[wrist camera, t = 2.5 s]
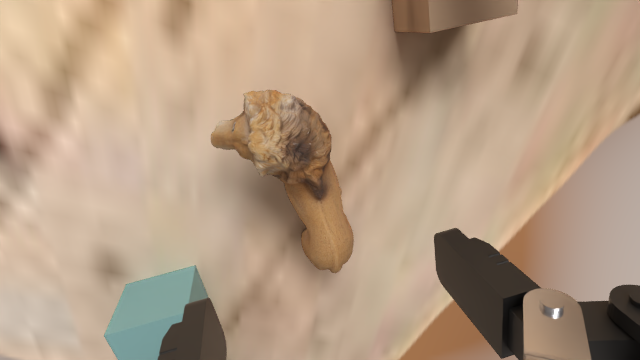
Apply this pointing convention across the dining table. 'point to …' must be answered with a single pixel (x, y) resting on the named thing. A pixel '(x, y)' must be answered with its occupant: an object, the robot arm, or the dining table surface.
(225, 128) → the lion figurine
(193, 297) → the teal block
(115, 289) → the dining table surface
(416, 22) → the walnut block
